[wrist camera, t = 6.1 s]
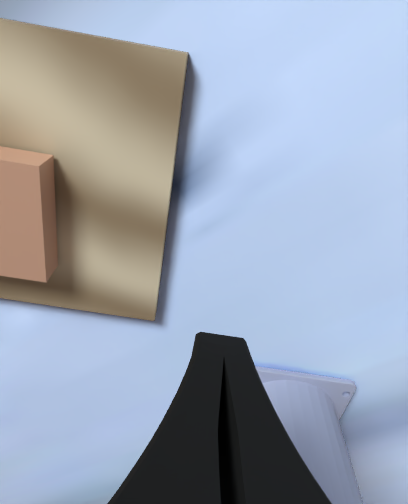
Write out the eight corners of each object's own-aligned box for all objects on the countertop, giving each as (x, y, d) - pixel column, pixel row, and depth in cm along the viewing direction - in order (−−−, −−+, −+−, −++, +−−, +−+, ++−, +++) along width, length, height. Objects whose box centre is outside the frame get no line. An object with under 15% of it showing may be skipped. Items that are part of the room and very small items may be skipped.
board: (156, 312, 23) (154, 320, 22) (-65, 278, 22) (-74, 287, 22) (188, 52, 16) (187, 53, 15) (-135, -7, 15) (-152, -9, 14)
